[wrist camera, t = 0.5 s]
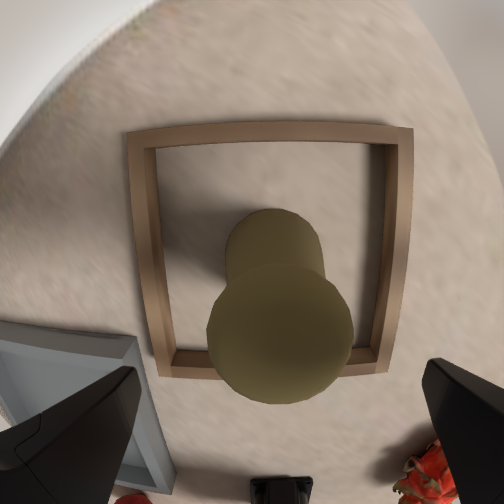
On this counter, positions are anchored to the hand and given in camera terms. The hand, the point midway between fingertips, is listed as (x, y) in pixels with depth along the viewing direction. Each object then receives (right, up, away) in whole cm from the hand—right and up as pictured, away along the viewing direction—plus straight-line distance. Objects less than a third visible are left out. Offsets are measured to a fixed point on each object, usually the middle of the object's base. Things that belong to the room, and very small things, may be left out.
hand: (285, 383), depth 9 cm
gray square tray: (-18, -11, +16) cm, 27 cm away
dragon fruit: (+18, -18, +17) cm, 31 cm away
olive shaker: (0, +4, +11) cm, 12 cm away
